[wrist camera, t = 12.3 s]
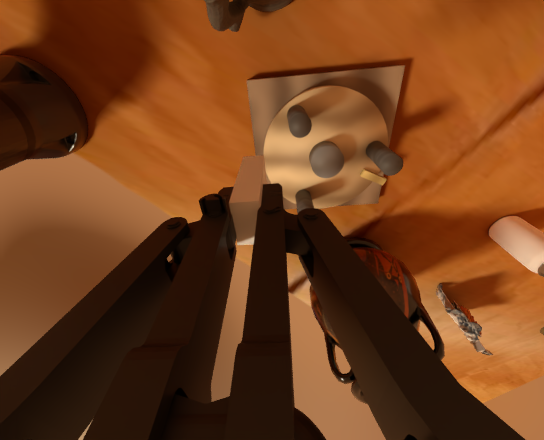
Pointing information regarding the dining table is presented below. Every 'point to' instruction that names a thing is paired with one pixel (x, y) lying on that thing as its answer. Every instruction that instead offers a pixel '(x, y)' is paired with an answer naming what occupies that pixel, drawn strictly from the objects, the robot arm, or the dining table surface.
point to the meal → (463, 321)
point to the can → (520, 241)
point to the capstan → (328, 147)
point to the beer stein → (237, 11)
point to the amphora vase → (400, 290)
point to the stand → (367, 81)
